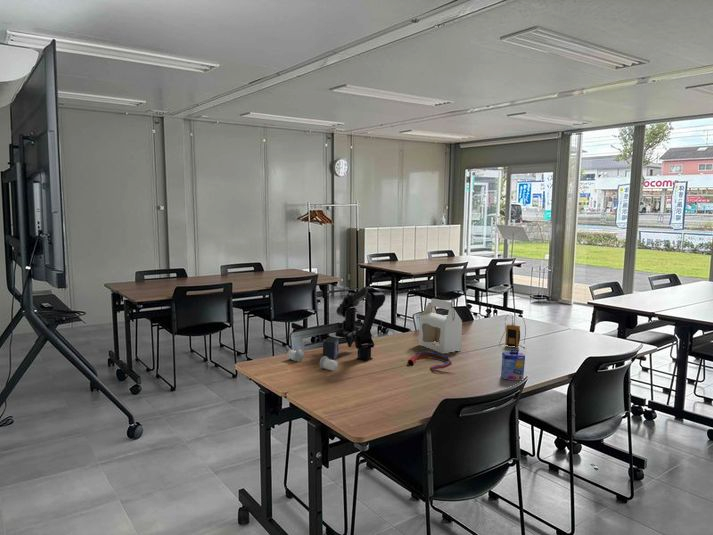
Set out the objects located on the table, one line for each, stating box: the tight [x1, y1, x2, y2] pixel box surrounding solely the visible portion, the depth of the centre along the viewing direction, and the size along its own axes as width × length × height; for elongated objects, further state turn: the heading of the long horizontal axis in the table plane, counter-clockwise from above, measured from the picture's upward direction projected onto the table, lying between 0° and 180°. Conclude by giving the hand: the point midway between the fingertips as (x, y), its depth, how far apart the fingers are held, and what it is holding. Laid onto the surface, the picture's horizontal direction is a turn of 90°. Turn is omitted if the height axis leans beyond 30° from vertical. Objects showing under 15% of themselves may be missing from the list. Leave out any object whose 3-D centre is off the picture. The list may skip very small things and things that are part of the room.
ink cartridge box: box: [500, 349, 526, 381], centre depth 246 cm, size 10×6×14 cm, turn 88°
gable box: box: [418, 297, 463, 354], centre depth 297 cm, size 22×13×28 cm, turn 33°
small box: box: [322, 336, 340, 361], centre depth 272 cm, size 11×6×10 cm, turn 168°
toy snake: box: [406, 350, 456, 375], centre depth 265 cm, size 31×22×5 cm
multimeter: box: [498, 313, 527, 348], centre depth 306 cm, size 15×10×20 cm
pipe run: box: [286, 349, 338, 372], centre depth 261 cm, size 30×6×6 cm, turn 52°
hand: (349, 346), depth 285 cm, fingers closed
